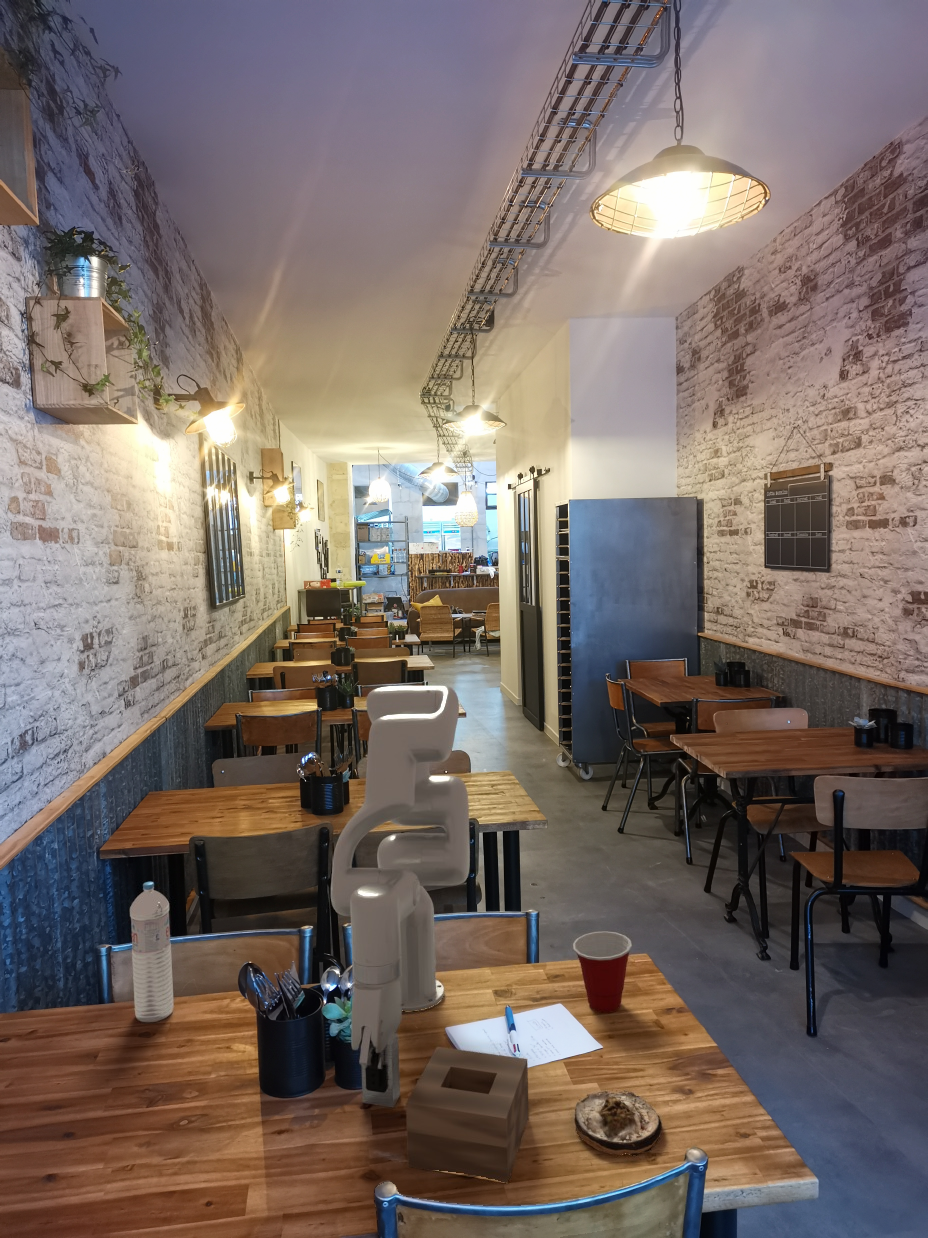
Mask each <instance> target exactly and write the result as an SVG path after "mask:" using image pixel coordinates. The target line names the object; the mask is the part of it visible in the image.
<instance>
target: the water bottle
mask: <svg viewBox="0 0 928 1238" xmlns="http://www.w3.org/2000/svg"><path fill="white" fill-rule="evenodd" d="M154 886H155V883H154V881H147V882H144V883H143V884H142V887H143V888H142V890H143V892H141V893H140V894H139V895H137V897H136V898H135V899H134V901H133V902H132V903H131V906H130V907H129V917H130V921H131V923H130V924H131V943H132V944H131V945H132V946H131V954H132V955H131V958H132V973H133V974H132V979H133V981H132V982H133V994H134V995H133V998H134V1001H133V1002H134V1013H135V1017H136V1019H137V1020H138V1021H140V1022H141V1023H155V1022H159V1021H162V1020H164V1019H166V1018H167V1017H169V1016H170V1015H171V1014H172V1013H173V1011H174V990H173V989H174V986H173V984H174V982H173V968H172V965H173V963H172V960H173V959H172V943H171V935H170V933H171V932H170V931H171V930H170V913H169V911H170V903H169V901H168V899H167V898H166V896H165V895H164V894H162V893H161V892H159V891H157V890H154V888H155V887H154Z"/></svg>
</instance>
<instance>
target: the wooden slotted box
mask: <svg viewBox="0 0 928 1238" xmlns="http://www.w3.org/2000/svg"><path fill="white" fill-rule="evenodd" d="M528 1065H529V1064H528V1058H522V1057H517V1056H509V1055H500V1054H495V1053H486V1052H479V1051H471V1050H464V1049H458V1048H447V1047H442V1046H437V1047H436V1048H435V1050H434V1051H433V1054H432V1055H431V1058H430V1059H429V1060H428V1063H427V1064H426V1067H425V1068H424V1070H423V1072H422V1073H421V1075H420V1077H419V1079H418V1081H417V1082H416V1084H415V1086H414V1088H413V1089H412V1092H410V1095H409V1097H408V1099H407V1101H406V1102H405V1112H406V1115H405V1116H406V1143H407V1144H406V1147H407V1167H410V1168H414V1169H415V1168H416V1169H420V1170H427V1171H431V1170H439V1171H448V1172H456V1173H464V1174H468V1175H476V1176H481V1177H486V1178H488V1179H495V1180H498V1181H501V1182H505V1183H506V1182H508V1180H509V1181H510V1179H509V1177H510V1178H511V1175H512V1172H513V1169H512V1168H514V1165H515V1163H516V1160H517V1157H518V1152H519V1150H520V1146H521V1143H522V1140H523V1138H524V1135H525V1131H526V1127H527V1125H528V1123H529V1122H528V1121H529V1119H530V1118H529V1117H530V1115H529V1111H530V1110H529V1109H530V1108H529V1106H530V1105H529V1076H528V1075H529V1072H528V1069H529V1067H528ZM514 1162H515V1163H514ZM511 1171H512V1172H511ZM510 1174H511V1175H510ZM508 1183H509V1182H508Z"/></svg>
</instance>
